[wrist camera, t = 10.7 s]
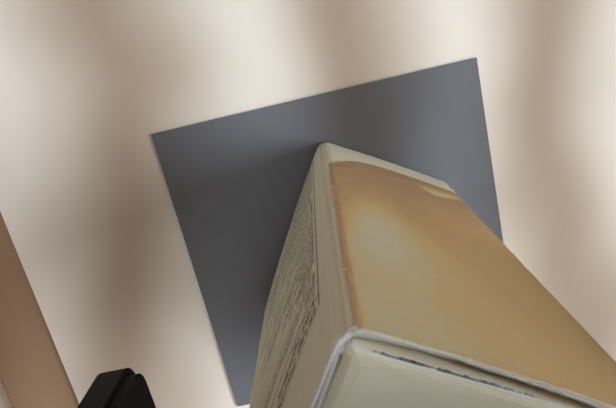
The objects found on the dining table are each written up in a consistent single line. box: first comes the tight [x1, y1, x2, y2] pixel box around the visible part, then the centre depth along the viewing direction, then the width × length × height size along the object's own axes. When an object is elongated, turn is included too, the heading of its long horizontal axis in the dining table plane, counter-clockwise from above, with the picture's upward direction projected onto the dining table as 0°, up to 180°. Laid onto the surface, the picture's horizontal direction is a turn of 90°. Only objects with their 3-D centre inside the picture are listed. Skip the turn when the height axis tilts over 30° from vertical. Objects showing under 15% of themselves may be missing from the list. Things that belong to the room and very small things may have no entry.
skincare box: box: [249, 143, 616, 408], centre depth 13 cm, size 6×4×12 cm
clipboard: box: [0, 0, 616, 408], centre depth 19 cm, size 26×34×3 cm
